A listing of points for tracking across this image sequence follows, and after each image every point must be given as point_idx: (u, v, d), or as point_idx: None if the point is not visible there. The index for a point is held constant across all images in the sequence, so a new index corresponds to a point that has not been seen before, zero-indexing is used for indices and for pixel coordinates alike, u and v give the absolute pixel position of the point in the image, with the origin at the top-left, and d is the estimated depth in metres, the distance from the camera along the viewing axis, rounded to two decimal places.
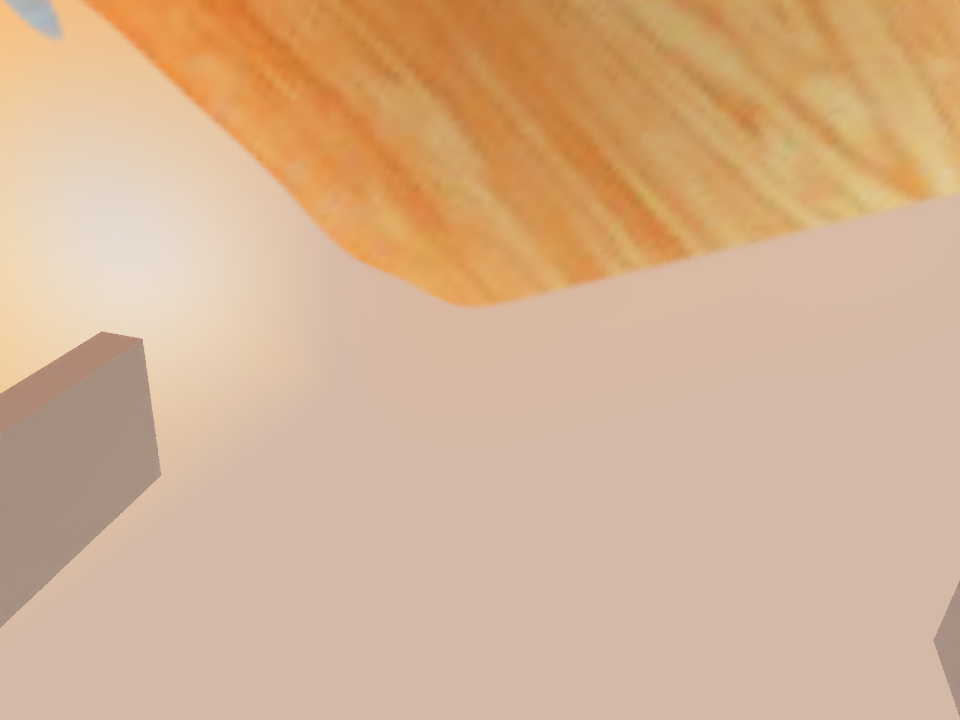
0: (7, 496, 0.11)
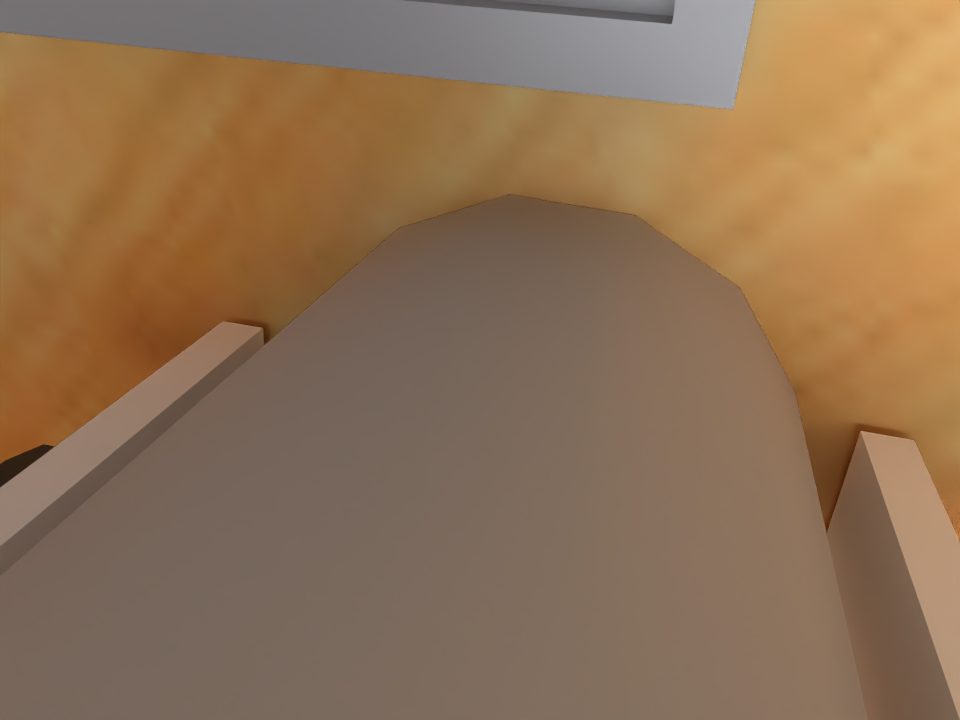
0: None
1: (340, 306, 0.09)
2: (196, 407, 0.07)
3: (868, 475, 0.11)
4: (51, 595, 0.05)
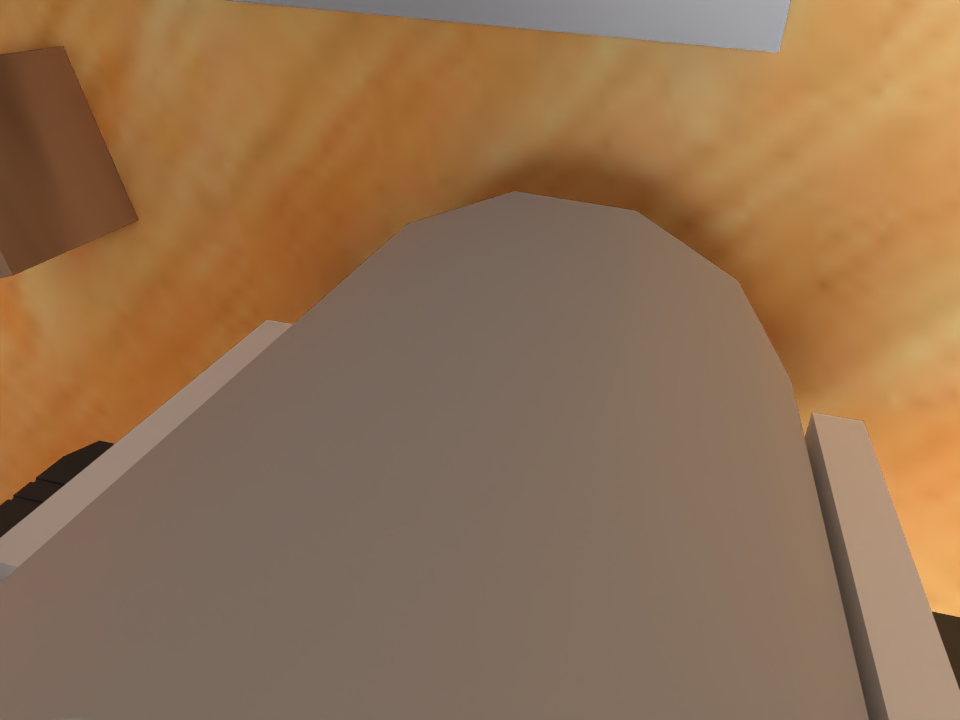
0: None
1: (354, 296, 0.10)
2: (221, 390, 0.08)
3: (817, 454, 0.12)
4: (99, 556, 0.05)
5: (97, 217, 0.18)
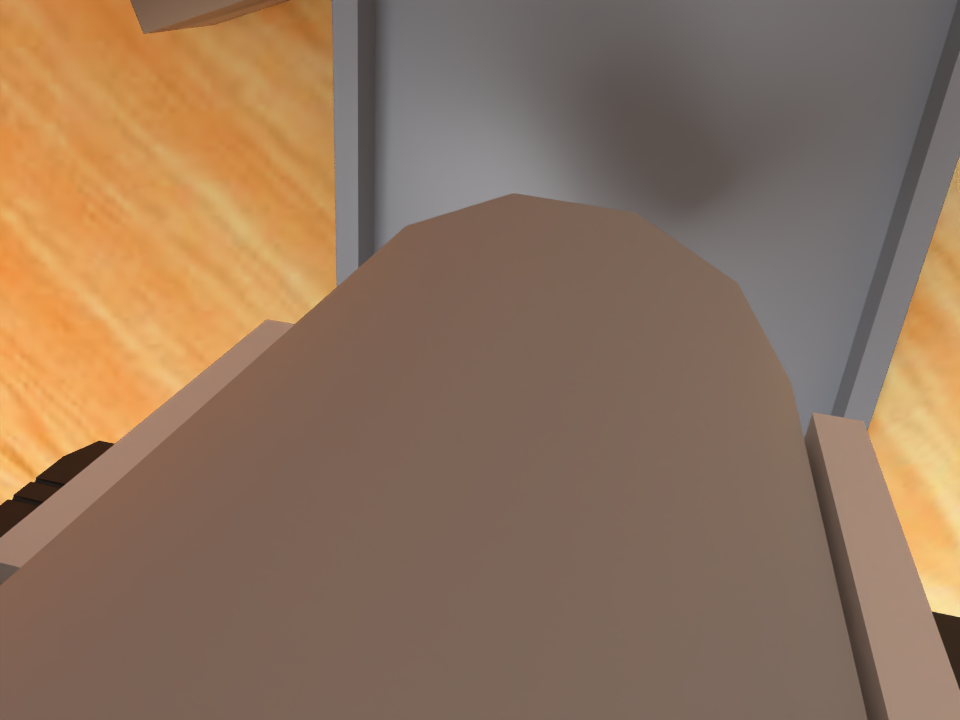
0: None
1: (352, 300, 0.10)
2: (218, 394, 0.08)
3: (817, 454, 0.12)
4: (94, 563, 0.05)
5: (204, 24, 0.26)
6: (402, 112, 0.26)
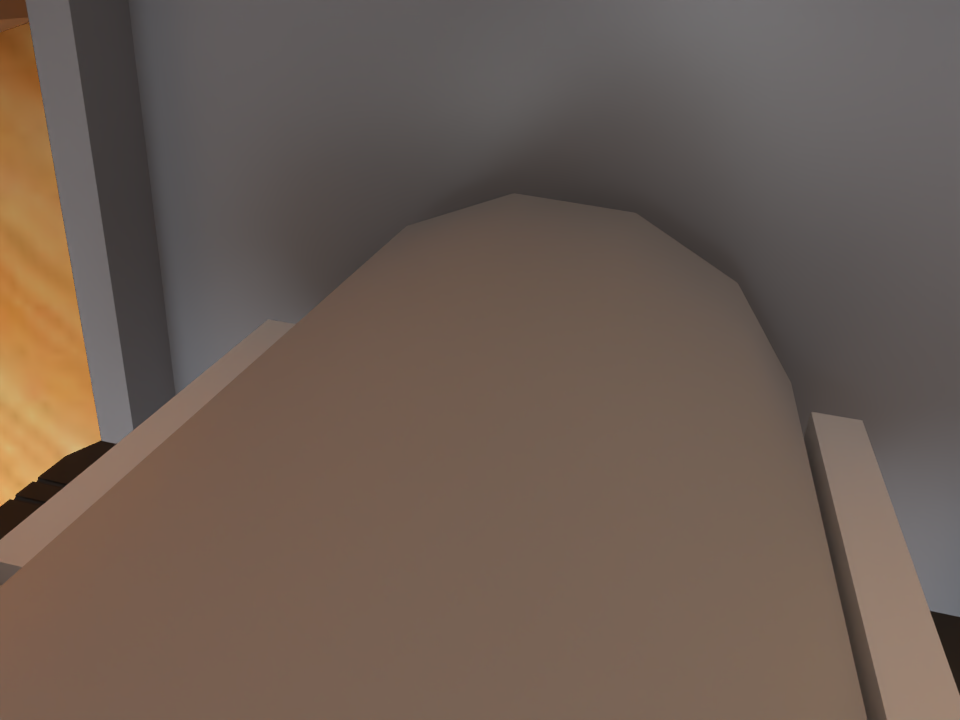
0: None
1: (353, 300, 0.10)
2: (219, 394, 0.08)
3: (815, 453, 0.12)
4: (96, 562, 0.05)
5: None
6: (198, 221, 0.16)
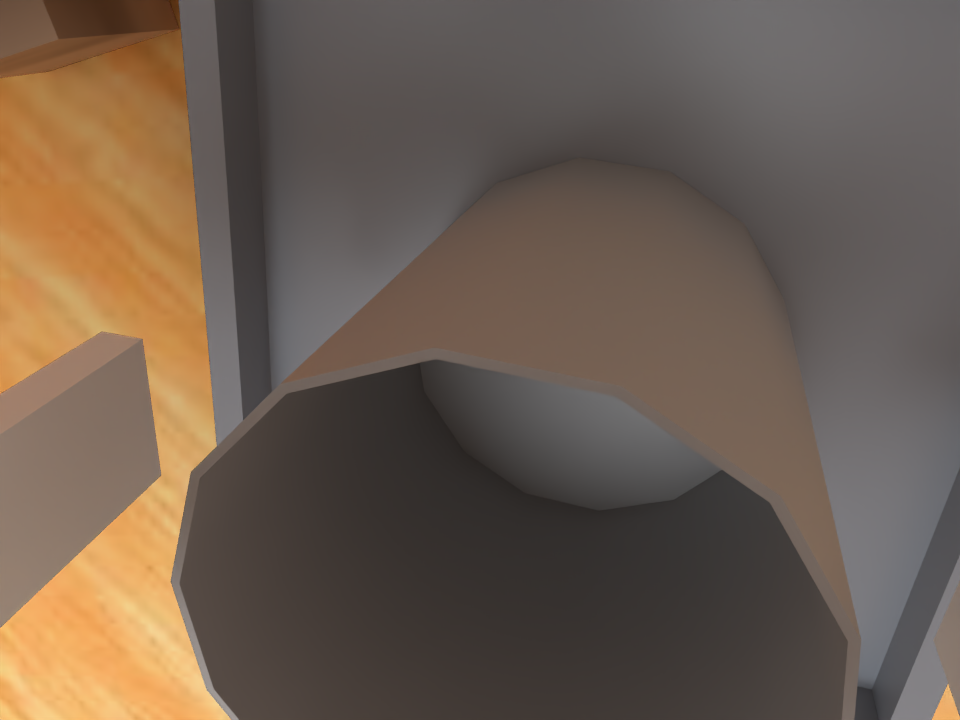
0: (7, 496, 0.11)
1: (478, 219, 0.14)
2: (408, 267, 0.12)
3: None
4: (387, 321, 0.10)
5: (23, 72, 0.19)
6: (299, 197, 0.19)
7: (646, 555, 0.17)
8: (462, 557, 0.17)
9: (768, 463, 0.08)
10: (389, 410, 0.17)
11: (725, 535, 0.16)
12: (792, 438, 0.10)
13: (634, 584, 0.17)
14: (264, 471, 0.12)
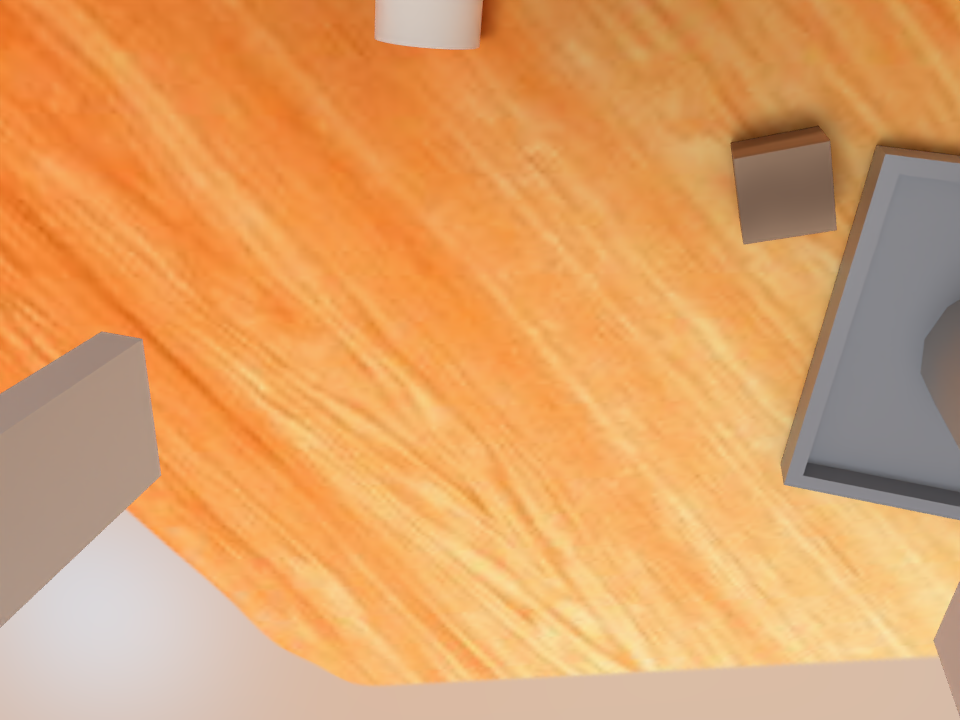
0: (7, 496, 0.11)
1: None
2: None
3: None
4: None
5: None
6: (875, 286, 0.40)
7: None
8: None
9: None
10: None
11: None
12: None
13: None
14: None
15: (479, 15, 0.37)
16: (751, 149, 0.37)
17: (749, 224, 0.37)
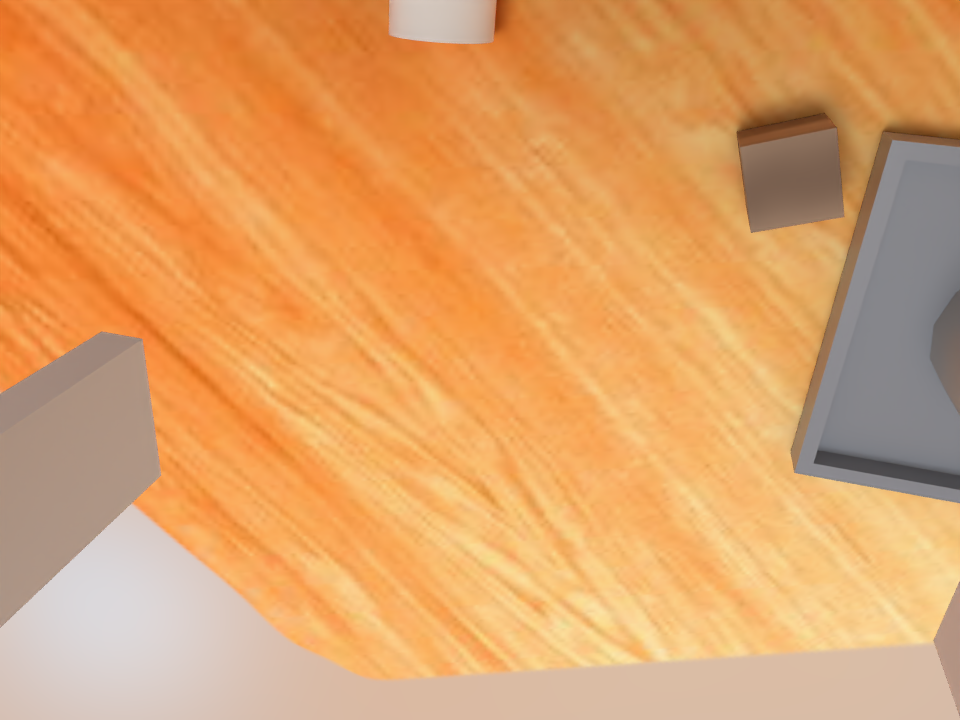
0: (7, 496, 0.11)
1: None
2: None
3: None
4: None
5: None
6: (884, 273, 0.40)
7: None
8: None
9: None
10: None
11: None
12: None
13: None
14: None
15: (495, 8, 0.38)
16: (757, 137, 0.37)
17: (757, 212, 0.37)
